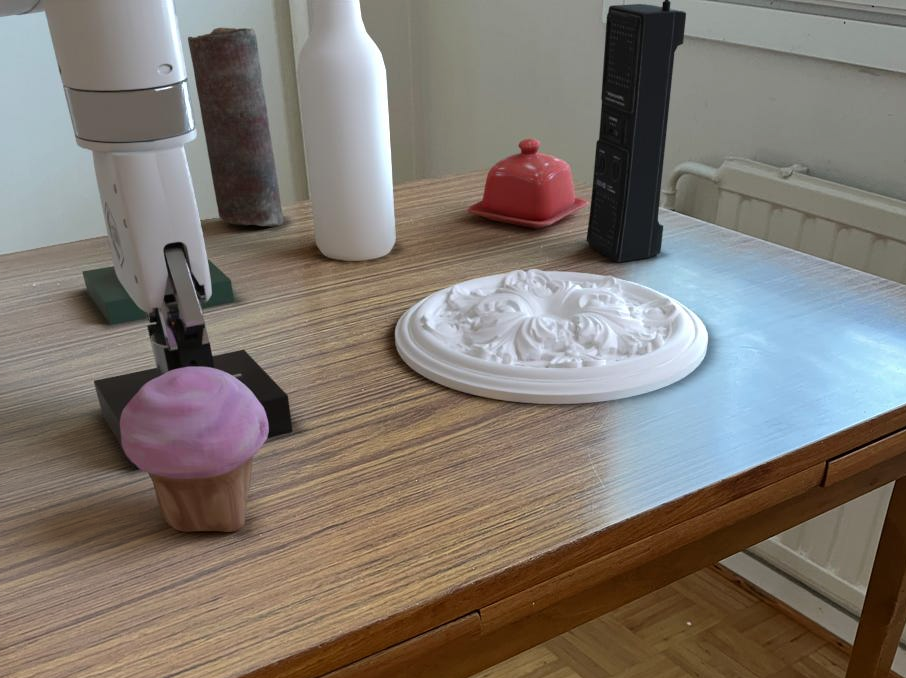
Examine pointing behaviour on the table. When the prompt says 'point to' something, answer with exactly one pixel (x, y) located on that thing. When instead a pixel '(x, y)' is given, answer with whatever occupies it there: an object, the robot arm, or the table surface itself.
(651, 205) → the portable radio
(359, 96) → the white bottle
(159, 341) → the dial
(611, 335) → the ceiling medallion
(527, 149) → the butter dish
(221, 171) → the candle
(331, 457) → the table surface
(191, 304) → the robot arm
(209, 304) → the box
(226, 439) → the cupcake
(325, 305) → the table surface
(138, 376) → the dial panel
